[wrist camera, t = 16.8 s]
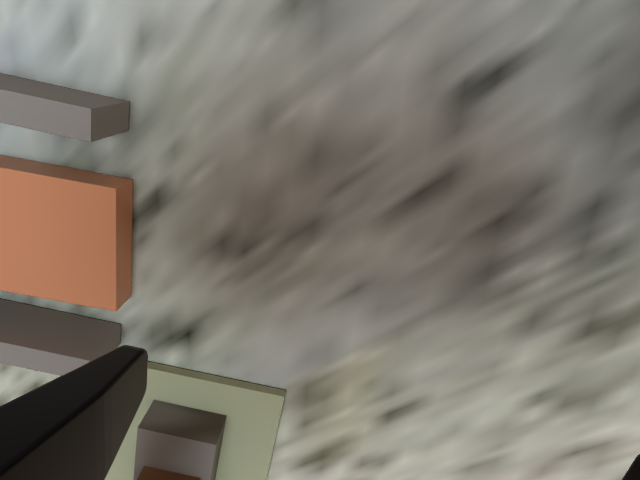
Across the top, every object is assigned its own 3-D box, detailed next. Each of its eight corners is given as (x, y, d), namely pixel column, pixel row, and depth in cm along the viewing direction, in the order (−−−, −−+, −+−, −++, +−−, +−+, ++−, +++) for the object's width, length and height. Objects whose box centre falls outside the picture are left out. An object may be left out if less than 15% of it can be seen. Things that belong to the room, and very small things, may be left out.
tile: (137, 176, 20) (116, 188, 19) (135, 290, 23) (116, 311, 21) (7, 153, 20) (-27, 162, 19) (18, 269, 23) (-11, 288, 21)
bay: (129, 101, 19) (90, 108, 16) (120, 343, 23) (89, 381, 21) (-65, 59, 19) (-139, 59, 16) (-35, 310, 23) (-87, 344, 20)
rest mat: (286, 390, 24) (284, 396, 23) (253, 536, 28) (252, 544, 28) (101, 351, 24) (96, 357, 23) (98, 505, 28) (94, 512, 28)
